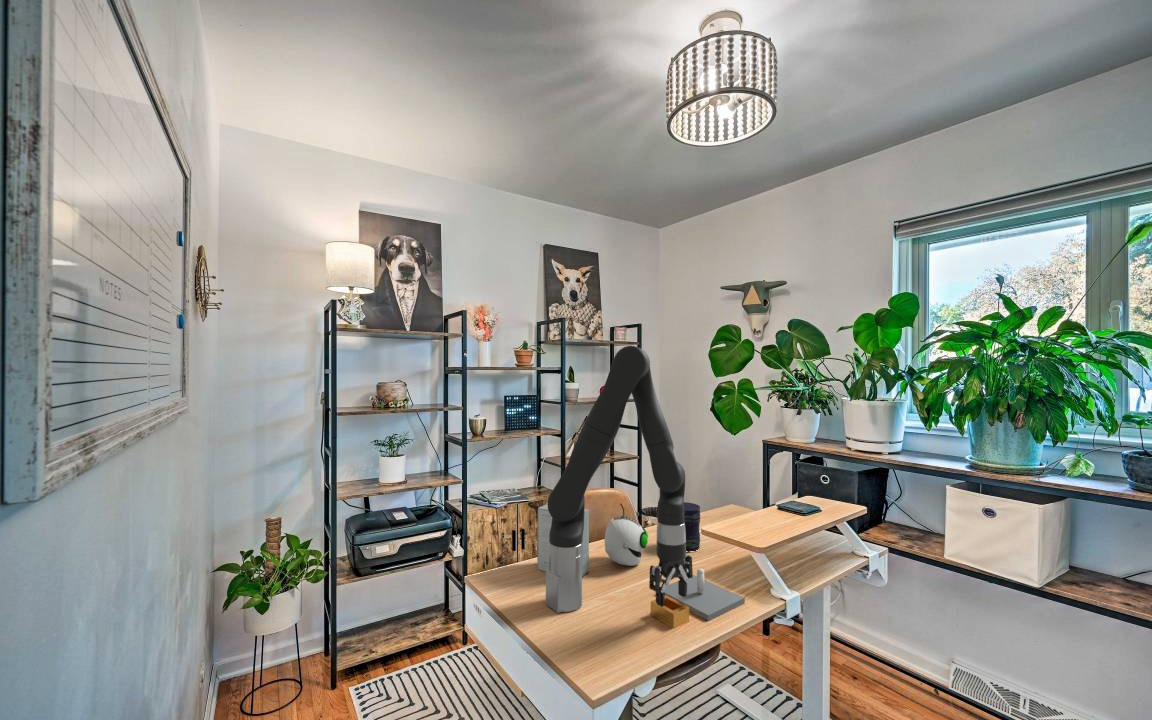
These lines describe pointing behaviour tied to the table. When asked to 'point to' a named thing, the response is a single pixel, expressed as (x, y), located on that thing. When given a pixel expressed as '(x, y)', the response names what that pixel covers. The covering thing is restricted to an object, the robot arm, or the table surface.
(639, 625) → the table surface
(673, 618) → the open wooden box
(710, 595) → the plate
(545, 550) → the hard drive box
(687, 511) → the storage jar
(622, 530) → the robot head
